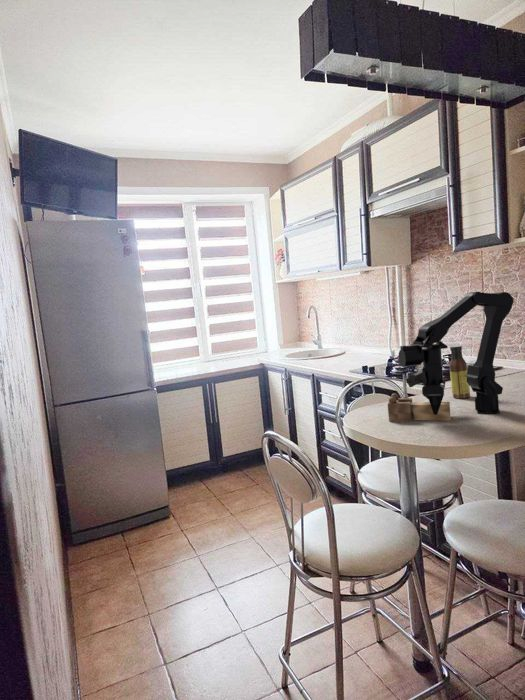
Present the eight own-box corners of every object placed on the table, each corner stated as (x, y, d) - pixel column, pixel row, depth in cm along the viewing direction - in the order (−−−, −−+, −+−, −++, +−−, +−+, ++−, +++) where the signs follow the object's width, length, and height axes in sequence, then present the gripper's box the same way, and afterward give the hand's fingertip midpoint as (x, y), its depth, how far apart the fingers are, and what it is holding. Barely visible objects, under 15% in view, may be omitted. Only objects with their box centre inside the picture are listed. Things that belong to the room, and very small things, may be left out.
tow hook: (391, 406, 166) (395, 410, 157) (388, 372, 166) (392, 375, 157) (414, 404, 165) (419, 409, 156) (411, 371, 165) (416, 373, 155)
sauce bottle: (471, 395, 168) (467, 344, 166) (469, 399, 162) (465, 346, 161) (453, 395, 171) (449, 345, 170) (450, 398, 166) (446, 347, 164)
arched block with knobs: (413, 415, 149) (411, 392, 148) (411, 421, 141) (409, 397, 141) (392, 415, 151) (390, 392, 151) (389, 421, 144) (387, 397, 144)
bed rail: (450, 416, 142) (449, 401, 142) (450, 420, 138) (449, 404, 138) (405, 416, 148) (404, 402, 147) (404, 419, 144) (403, 405, 144)
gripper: (409, 360, 152) (412, 404, 153) (403, 369, 135) (407, 418, 137) (443, 358, 148) (446, 404, 149) (441, 367, 131) (445, 418, 132)
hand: (436, 410), depth 142 cm, fingers open, 9 cm apart
